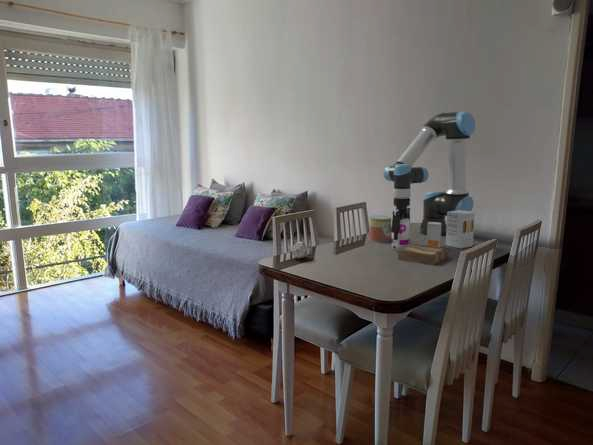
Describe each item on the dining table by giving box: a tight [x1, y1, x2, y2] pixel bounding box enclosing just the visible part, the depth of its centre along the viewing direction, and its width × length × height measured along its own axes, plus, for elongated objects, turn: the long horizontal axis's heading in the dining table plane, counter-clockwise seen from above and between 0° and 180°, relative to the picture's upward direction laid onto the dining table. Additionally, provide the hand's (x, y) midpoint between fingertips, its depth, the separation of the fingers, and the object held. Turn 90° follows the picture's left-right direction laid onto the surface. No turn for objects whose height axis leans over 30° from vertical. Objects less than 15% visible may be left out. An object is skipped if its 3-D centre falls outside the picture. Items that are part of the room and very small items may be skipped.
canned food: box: [368, 214, 392, 243], centre depth 236 cm, size 11×11×12 cm
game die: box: [289, 239, 311, 261], centre depth 202 cm, size 9×8×10 cm
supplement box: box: [445, 210, 476, 249], centre depth 220 cm, size 10×9×17 cm
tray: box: [397, 243, 448, 266], centre depth 200 cm, size 16×16×4 cm
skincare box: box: [425, 222, 442, 248], centre depth 218 cm, size 6×4×12 cm
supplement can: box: [391, 218, 411, 252], centre depth 215 cm, size 8×8×15 cm
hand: (400, 244), depth 216 cm, fingers closed on supplement can, 8 cm apart
